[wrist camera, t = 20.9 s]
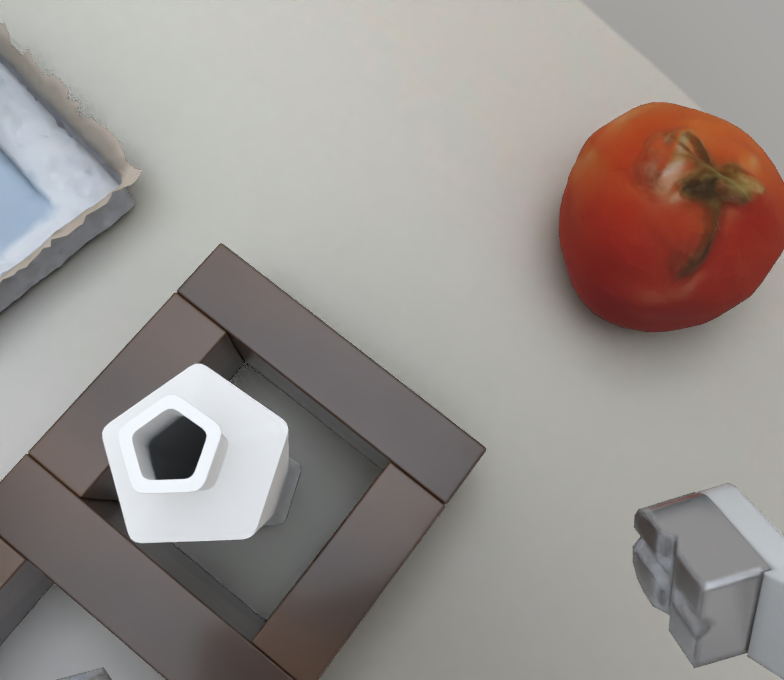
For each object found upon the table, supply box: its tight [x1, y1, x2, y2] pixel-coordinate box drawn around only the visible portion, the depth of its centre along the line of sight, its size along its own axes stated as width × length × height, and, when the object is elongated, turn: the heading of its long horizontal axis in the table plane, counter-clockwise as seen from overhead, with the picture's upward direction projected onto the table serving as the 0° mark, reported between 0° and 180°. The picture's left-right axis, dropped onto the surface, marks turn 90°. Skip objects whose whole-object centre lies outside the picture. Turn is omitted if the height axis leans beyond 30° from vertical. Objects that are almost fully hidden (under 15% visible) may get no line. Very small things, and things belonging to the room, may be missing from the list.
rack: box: [0, 244, 486, 680], centre depth 26 cm, size 22×12×5 cm, turn 142°
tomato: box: [559, 102, 784, 332], centre depth 29 cm, size 9×9×8 cm
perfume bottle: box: [102, 364, 301, 543], centre depth 22 cm, size 5×4×15 cm
